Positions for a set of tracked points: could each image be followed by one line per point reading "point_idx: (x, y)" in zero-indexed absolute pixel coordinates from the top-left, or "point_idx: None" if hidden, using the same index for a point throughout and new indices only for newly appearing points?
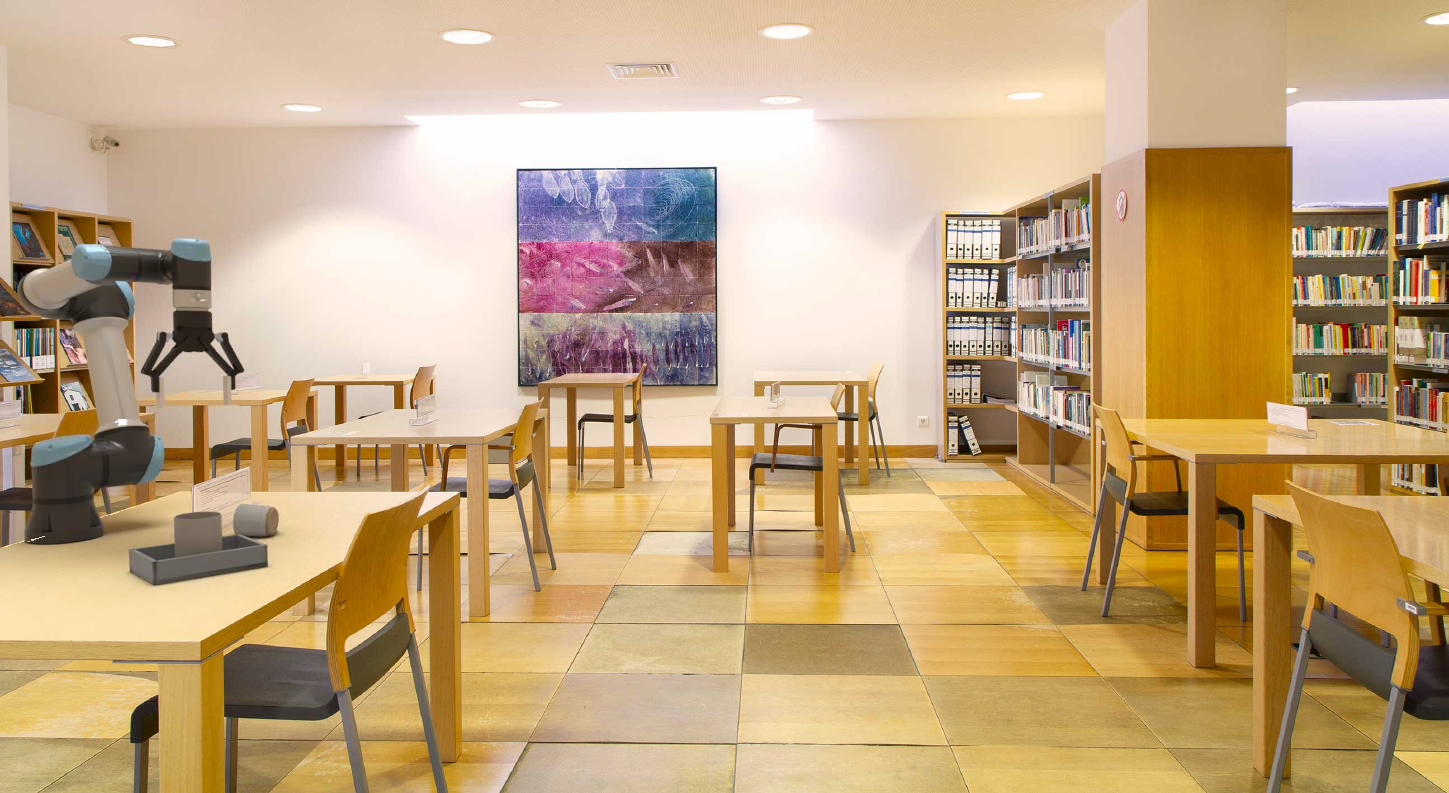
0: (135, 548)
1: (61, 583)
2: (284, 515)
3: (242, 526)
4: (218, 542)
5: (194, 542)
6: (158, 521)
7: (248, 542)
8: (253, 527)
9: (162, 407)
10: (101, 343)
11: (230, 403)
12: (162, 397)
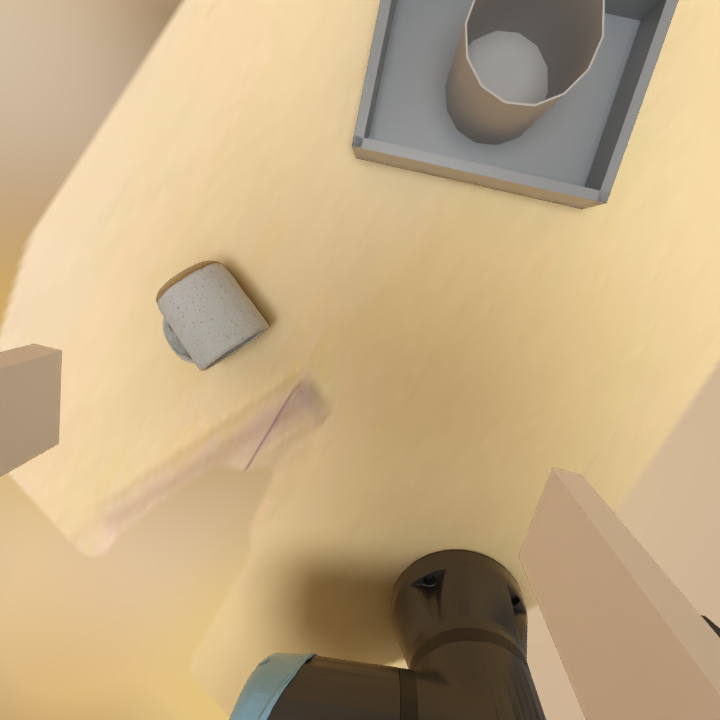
0: (593, 197)
1: (716, 223)
2: (78, 453)
3: (255, 307)
4: (486, 11)
5: (555, 10)
6: (274, 599)
7: (382, 51)
8: (239, 286)
9: (571, 472)
10: None
11: (30, 350)
12: (613, 526)
